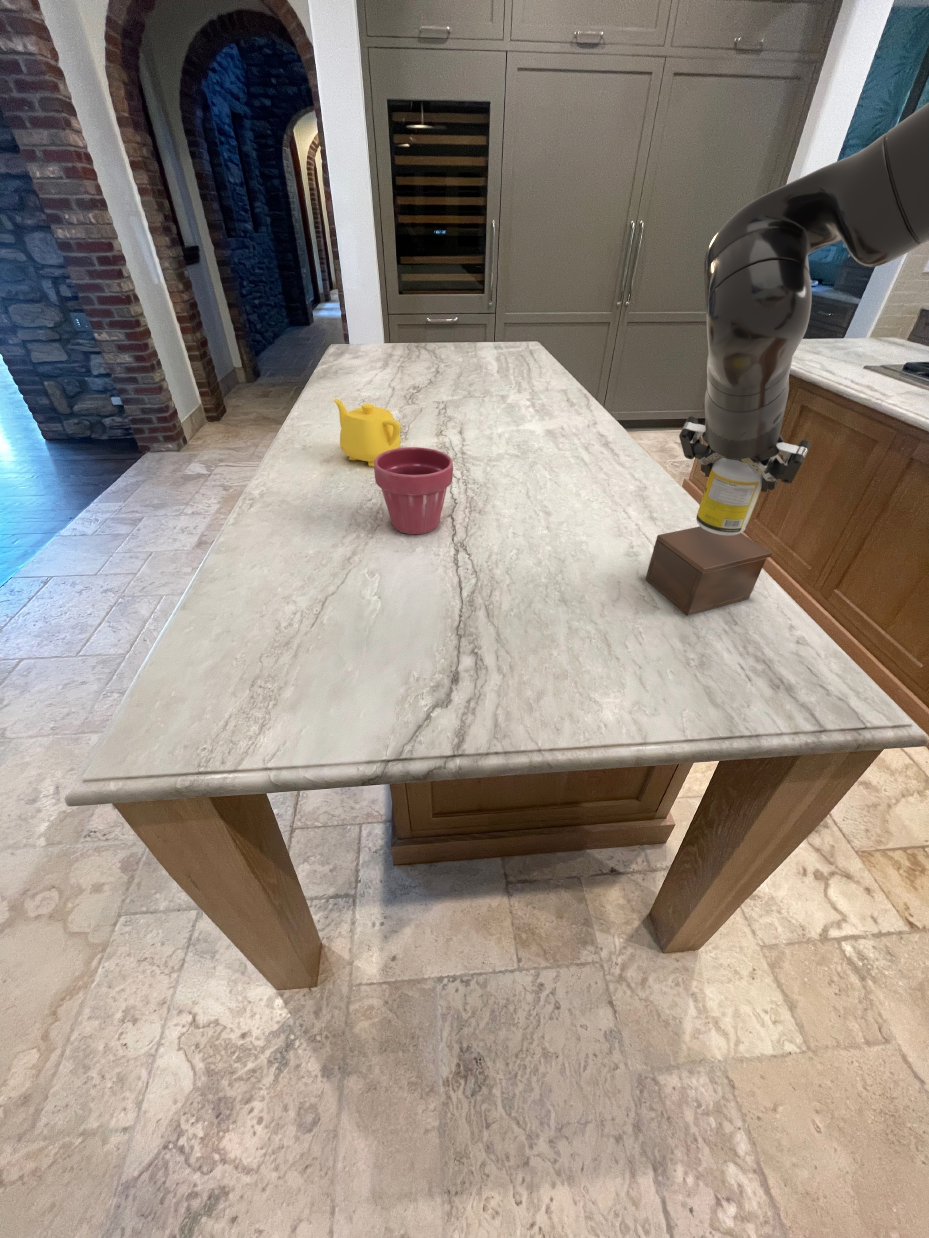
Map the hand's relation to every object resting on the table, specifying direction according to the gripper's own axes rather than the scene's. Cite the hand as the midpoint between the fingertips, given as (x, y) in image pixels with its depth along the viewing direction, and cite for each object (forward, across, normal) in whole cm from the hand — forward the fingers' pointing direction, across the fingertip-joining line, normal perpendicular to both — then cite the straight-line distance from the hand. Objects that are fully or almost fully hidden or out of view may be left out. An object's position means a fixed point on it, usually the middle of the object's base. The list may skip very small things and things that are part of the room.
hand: (738, 478), depth 70 cm
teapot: (+24, +83, +7) cm, 87 cm away
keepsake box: (+20, +2, +11) cm, 23 cm away
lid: (+15, +1, +5) cm, 16 cm away
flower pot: (+11, +52, +20) cm, 57 cm away
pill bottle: (+3, 0, +6) cm, 7 cm away
